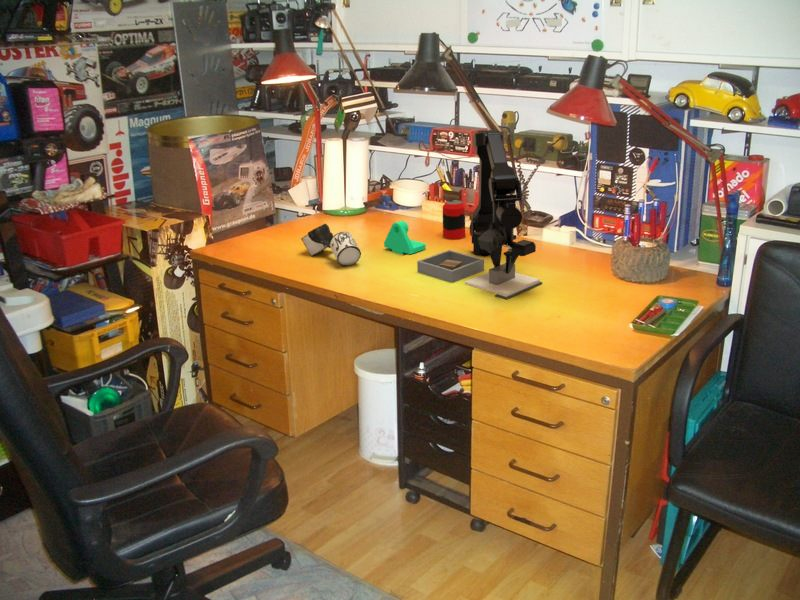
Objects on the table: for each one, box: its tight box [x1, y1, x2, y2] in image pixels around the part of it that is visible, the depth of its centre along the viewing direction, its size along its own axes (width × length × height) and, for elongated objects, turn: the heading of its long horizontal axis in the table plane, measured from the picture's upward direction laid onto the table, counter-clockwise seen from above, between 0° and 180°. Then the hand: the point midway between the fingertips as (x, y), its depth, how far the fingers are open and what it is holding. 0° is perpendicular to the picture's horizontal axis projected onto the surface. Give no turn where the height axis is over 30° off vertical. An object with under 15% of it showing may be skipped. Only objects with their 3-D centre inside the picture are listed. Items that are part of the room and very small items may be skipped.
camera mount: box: [383, 220, 426, 255], centre depth 255 cm, size 12×8×10 cm, turn 45°
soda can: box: [442, 199, 466, 240], centre depth 267 cm, size 8×8×12 cm
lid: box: [464, 262, 541, 297], centre depth 223 cm, size 15×15×5 cm
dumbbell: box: [300, 223, 362, 267], centre depth 250 cm, size 25×10×10 cm, turn 40°
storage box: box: [416, 249, 485, 284], centre depth 235 cm, size 14×14×4 cm
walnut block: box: [439, 260, 462, 270], centre depth 235 cm, size 5×5×2 cm
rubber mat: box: [494, 281, 543, 301], centre depth 224 cm, size 16×16×1 cm
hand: (502, 271), depth 223 cm, fingers open, 4 cm apart
